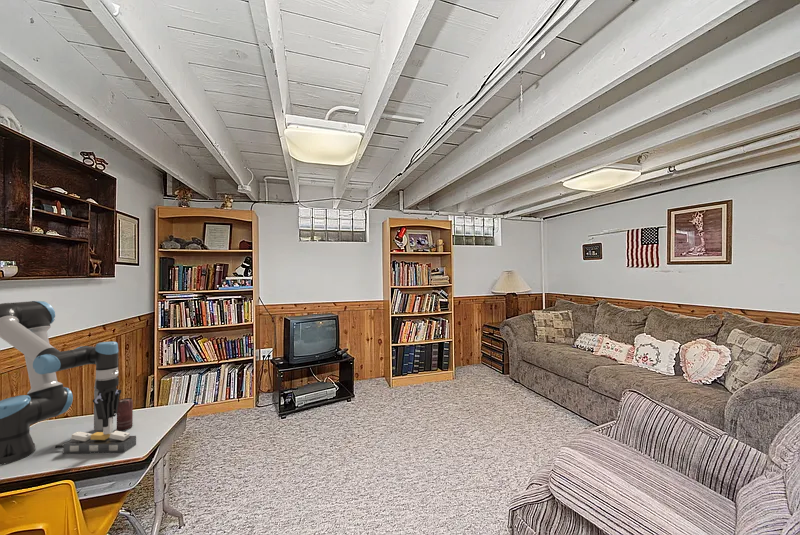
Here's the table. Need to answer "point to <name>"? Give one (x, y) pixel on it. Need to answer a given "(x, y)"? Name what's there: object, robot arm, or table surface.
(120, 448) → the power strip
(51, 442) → the table surface
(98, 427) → the water bottle
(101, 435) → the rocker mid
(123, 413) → the can
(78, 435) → the rocker
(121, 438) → the rocker
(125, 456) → the table surface
